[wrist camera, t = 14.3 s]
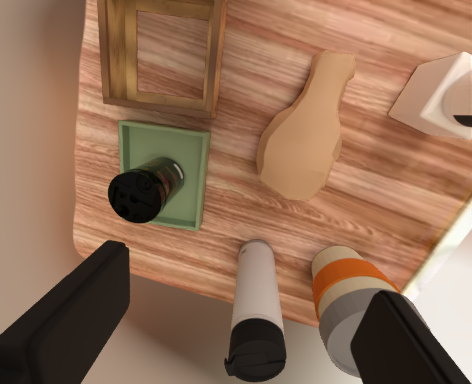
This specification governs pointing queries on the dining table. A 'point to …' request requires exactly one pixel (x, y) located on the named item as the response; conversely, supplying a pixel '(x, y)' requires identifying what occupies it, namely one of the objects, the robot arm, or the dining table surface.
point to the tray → (178, 149)
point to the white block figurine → (439, 98)
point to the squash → (306, 132)
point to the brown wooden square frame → (125, 54)
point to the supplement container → (145, 189)
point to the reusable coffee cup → (345, 299)
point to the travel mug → (256, 317)
